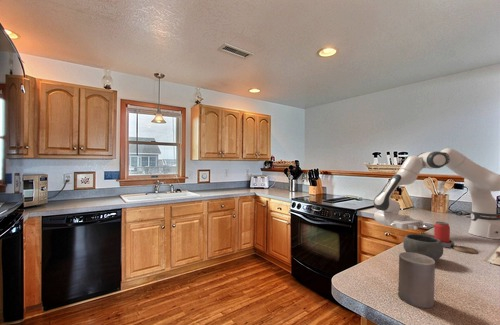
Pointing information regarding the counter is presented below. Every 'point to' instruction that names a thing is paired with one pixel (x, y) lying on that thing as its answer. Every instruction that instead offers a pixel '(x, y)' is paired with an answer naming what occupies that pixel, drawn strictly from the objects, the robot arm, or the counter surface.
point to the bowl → (423, 245)
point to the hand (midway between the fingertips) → (422, 227)
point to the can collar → (448, 244)
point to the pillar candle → (416, 279)
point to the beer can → (442, 232)
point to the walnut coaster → (465, 249)
